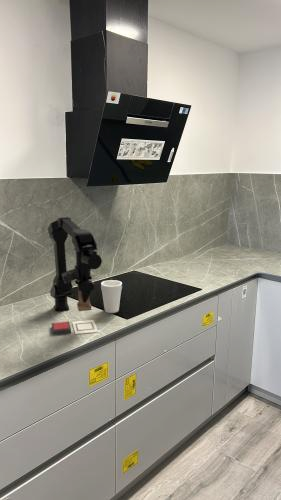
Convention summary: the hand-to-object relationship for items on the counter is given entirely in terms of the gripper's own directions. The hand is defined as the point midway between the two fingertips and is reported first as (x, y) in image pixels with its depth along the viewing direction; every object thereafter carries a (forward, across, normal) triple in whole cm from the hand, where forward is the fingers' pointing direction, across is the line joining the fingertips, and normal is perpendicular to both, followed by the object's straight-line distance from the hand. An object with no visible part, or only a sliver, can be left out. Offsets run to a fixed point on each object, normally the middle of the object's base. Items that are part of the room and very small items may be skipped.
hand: (84, 300), depth 159 cm
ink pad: (+12, 0, -10) cm, 15 cm away
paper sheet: (+12, 0, 0) cm, 12 cm away
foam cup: (+12, -15, +14) cm, 24 cm away
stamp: (+3, 0, 0) cm, 3 cm away
